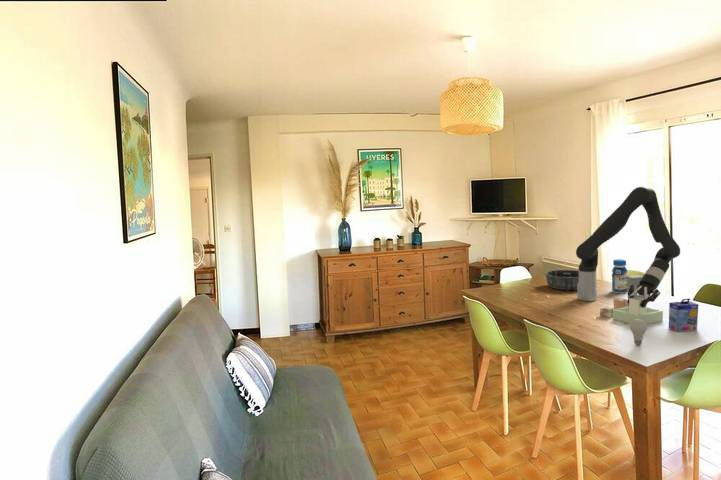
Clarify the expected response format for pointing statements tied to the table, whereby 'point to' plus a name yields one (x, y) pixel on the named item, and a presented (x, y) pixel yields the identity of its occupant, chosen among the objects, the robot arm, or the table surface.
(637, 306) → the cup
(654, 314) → the tub
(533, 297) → the table surface
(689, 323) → the ink cartridge box
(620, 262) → the beverage bottle
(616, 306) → the reddish brown block
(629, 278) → the skincare box
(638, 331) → the lightbulb
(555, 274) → the bundt pan
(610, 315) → the beech block
